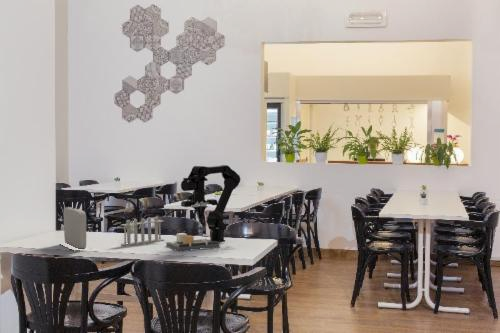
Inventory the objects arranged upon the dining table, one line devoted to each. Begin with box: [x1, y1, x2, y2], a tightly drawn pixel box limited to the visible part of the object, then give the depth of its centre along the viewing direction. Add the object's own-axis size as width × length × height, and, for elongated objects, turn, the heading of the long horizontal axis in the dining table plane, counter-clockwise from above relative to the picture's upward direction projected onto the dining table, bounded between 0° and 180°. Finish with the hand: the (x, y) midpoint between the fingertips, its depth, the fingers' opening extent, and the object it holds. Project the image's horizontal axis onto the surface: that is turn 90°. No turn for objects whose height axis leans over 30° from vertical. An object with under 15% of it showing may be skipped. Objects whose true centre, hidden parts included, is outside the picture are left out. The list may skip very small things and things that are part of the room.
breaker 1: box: [176, 232, 188, 242], centre depth 376 cm, size 4×4×4 cm
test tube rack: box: [120, 216, 165, 247], centre depth 387 cm, size 25×4×13 cm, turn 133°
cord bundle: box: [179, 241, 219, 247], centre depth 366 cm, size 21×2×2 cm, turn 117°
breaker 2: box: [183, 234, 195, 244], centre depth 367 cm, size 4×4×4 cm
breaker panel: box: [165, 238, 220, 252], centre depth 373 cm, size 22×18×2 cm
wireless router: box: [63, 206, 93, 252], centre depth 376 cm, size 31×10×20 cm, turn 31°
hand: (199, 219), depth 382 cm, fingers closed
